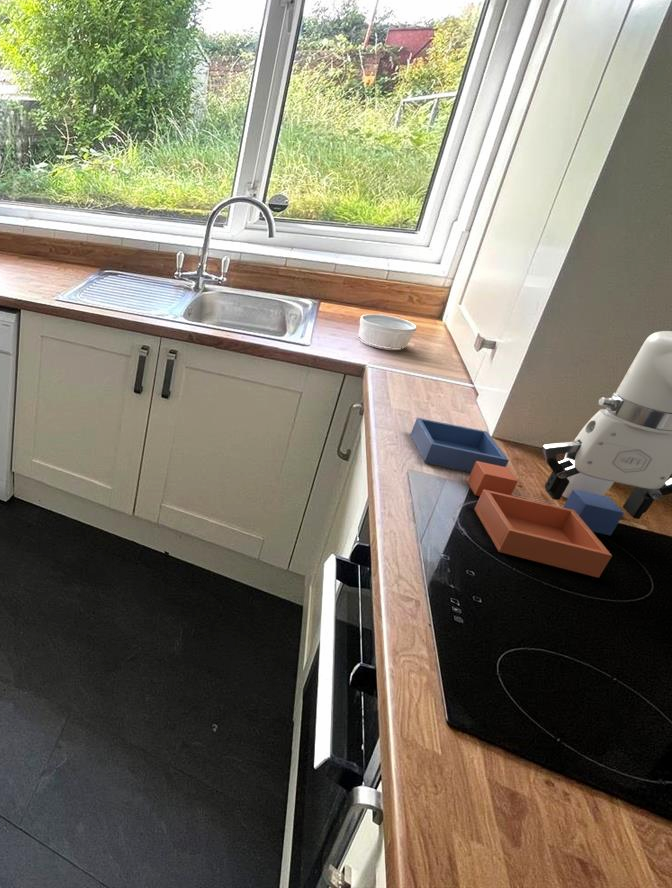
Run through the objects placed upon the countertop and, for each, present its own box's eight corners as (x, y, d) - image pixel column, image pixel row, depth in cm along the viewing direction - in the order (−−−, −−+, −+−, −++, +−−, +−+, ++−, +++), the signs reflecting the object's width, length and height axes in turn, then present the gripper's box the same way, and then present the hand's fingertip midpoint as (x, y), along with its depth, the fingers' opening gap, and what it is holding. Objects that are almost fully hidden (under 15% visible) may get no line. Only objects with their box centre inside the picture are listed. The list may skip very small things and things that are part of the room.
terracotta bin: (599, 578, 83) (612, 555, 82) (498, 552, 88) (509, 530, 86) (562, 530, 93) (574, 509, 91) (473, 509, 97) (483, 489, 96)
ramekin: (348, 342, 169) (355, 319, 166) (361, 332, 177) (368, 310, 174) (402, 356, 160) (410, 332, 157) (413, 345, 168) (421, 322, 166)
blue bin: (500, 479, 106) (509, 460, 104) (424, 462, 110) (431, 443, 109) (479, 449, 115) (487, 431, 114) (410, 434, 120) (416, 417, 118)
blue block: (610, 535, 92) (624, 512, 90) (573, 527, 94) (586, 504, 92) (596, 519, 96) (609, 497, 94) (560, 511, 97) (572, 489, 96)
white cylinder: (539, 486, 104) (556, 453, 101) (564, 480, 106) (581, 448, 103) (587, 510, 98) (607, 475, 95) (613, 503, 100) (632, 469, 97)
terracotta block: (507, 503, 99) (518, 481, 97) (474, 495, 101) (484, 473, 99) (498, 488, 103) (508, 467, 101) (466, 481, 105) (476, 460, 103)
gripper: (581, 409, 87) (531, 501, 94) (744, 440, 81) (677, 536, 88) (559, 389, 93) (513, 476, 100) (709, 415, 87) (649, 507, 94)
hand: (590, 504), depth 94 cm, fingers open, 9 cm apart
